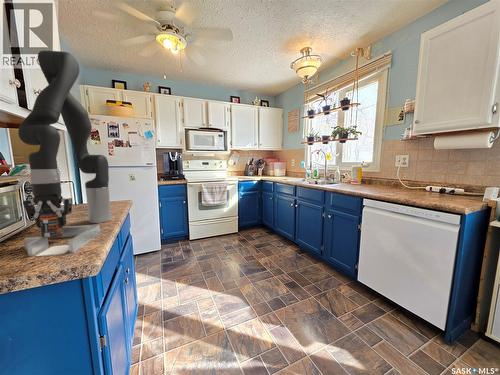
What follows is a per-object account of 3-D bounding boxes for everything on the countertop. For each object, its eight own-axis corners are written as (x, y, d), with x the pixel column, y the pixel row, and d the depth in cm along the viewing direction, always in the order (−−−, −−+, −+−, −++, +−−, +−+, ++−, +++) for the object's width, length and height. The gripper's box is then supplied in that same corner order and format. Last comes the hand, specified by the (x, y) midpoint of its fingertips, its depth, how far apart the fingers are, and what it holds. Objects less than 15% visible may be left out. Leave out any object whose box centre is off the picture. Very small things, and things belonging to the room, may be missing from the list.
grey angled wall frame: (51, 237, 82) (50, 227, 81) (100, 233, 86) (99, 224, 85) (9, 257, 64) (8, 245, 64) (73, 252, 68) (72, 240, 68)
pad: (52, 247, 73) (52, 246, 72) (77, 245, 74) (77, 244, 74) (35, 256, 65) (35, 255, 65) (63, 254, 67) (63, 253, 67)
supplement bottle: (50, 240, 73) (46, 209, 72) (37, 239, 75) (33, 209, 73) (68, 235, 79) (64, 206, 78) (56, 233, 80) (52, 205, 79)
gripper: (75, 180, 79) (80, 222, 82) (30, 181, 76) (36, 225, 78) (62, 182, 72) (68, 228, 74) (12, 183, 69) (19, 231, 71)
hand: (51, 226), depth 76 cm, fingers closed on supplement bottle, 6 cm apart
